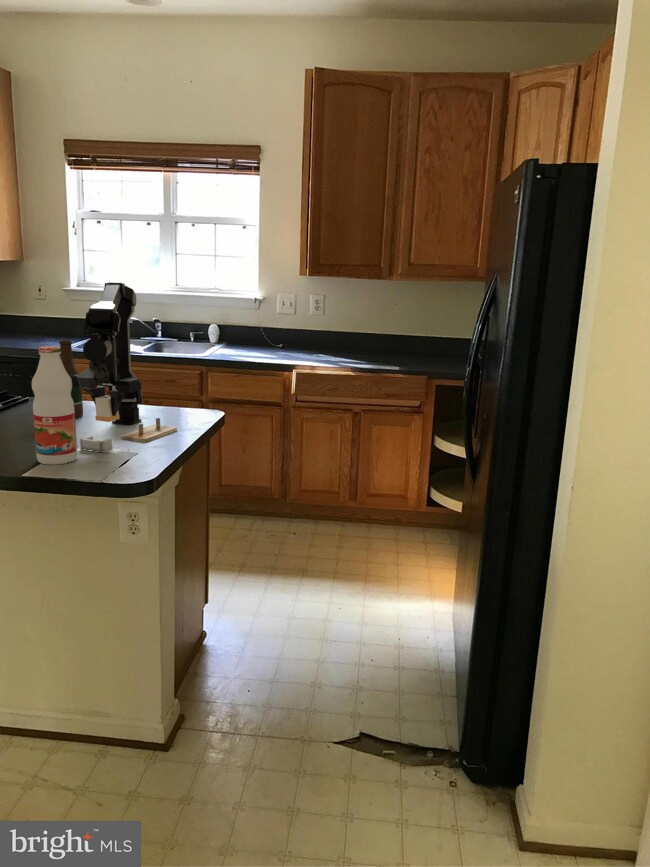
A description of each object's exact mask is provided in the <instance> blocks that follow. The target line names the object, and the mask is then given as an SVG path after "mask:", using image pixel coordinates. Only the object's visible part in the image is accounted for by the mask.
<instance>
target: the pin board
mask: <svg viewBox="0 0 650 867" xmlns="http://www.w3.org/2000/svg"><path fill="white" fill-rule="evenodd" d="M174 431H175V432H177V431H178V428H177V426H169V425H162V424H161V417H156V418H155V424H151V425H148V426H145V427H144V423H138V429H137V430H134V431H130V432H128V433H125V434H122V435H121V440H125V439H126V440H127V441H132V442H140V443H149V442H151V441H153V439H154V440H157V439H159V438H161V436H162V437H164V436H166V434H167V435H170V434H173V433H175V432H174ZM169 433H170V434H169Z"/></svg>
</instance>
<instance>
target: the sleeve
mask: <svg viewBox="0 0 650 867" xmlns="http://www.w3.org/2000/svg"><path fill="white" fill-rule="evenodd" d="M95 401H96V406H95V421H98V422H107V423H110V422H111V423H112V421H114V420H117V419H120V418H119V414H118V412H117V414H116V416H112V411H111V397H110V396H109V395H106V394H105V396H101V397H97V398H95Z"/></svg>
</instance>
